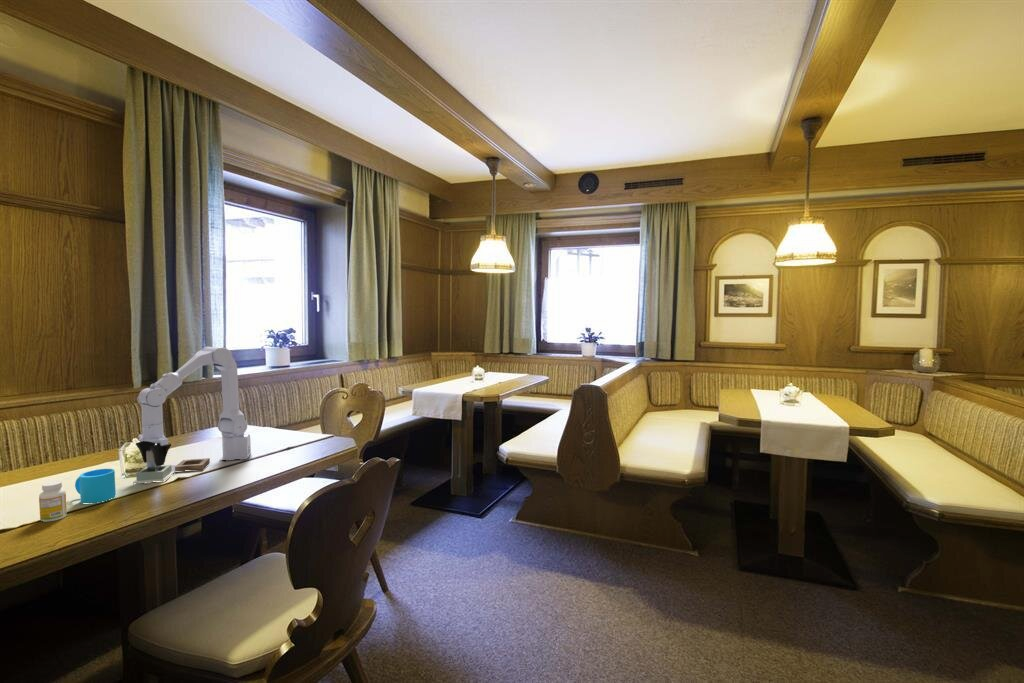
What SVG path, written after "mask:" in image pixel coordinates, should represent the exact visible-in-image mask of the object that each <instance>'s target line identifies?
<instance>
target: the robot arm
mask: <svg viewBox="0 0 1024 683" xmlns="http://www.w3.org/2000/svg"><path fill="white" fill-rule="evenodd" d="M210 365H211V366H214V367H215V368H216V369H218V370H219V371H220V376H221V377H220V378H221V396H222V412H220V414H219V421H218V423H217V429H218V431H219V432H220V433H221V440H222V442H221V443H222V444H221V445H222V456H221V457H220V459H219V460H220V461H219V462H223V461H222V460H226V461H235V460H234V459H240V460H247V459H249V457H250V456H251V454H252V450H251V444H252V442H251V434H247V433H246V431H247V429H248V422H247V420H246V419H245V418H246V417H245V415H244V413H243V412H242V411H241V410H240V397H239V396H240V395H239V379H238V378H239V377H238V364H237V362H236V361H235V358H234V357H233V352H232V351H231V350H230V349H228V348H227V347H224V346H223V347H221V346H220V347H218V346H217V347H216V346H205V347H203V348H201V350H198V351H197V352H196V353H195V354H194V356H193V357H191V358H190V359H189V360H188V361H186V362H185V363H184V364H183V365H182V366H181V367H180V368H178V369H177V370H176V371H175V372H167V373H164V374H162V375H161V376H162V377H161V378H160V379H159V380H157V381H156V382H154V383H151V384H150V385H149V387H146V388H143V389H142V390H141V391H139V394H138V396H137V397H136V401H137V402H138V403H139V404H140V407H141V411H140V412H141V425H142V426H141V429H142V430H141V432H142V433H141V434H138V441H139V442H136V443H135V446H136V447H137V448H138V450H139V452H140V455H141V457H142V461H143V463H146V464H147V458H146V451H147V450H150V449H151V450H152V451H153V454H154V458H155V463H156V466H160V465H161V466H164V465H165V462H166V457H167V455H168V452H169V450H170V448H171V446H172V443H169V439H168V438H166V436H165V435H164V422H163V421H164V417H163V404H164V403H165V402H166V400H167V397H168V396H170V394H172V393H173V392H174V391H175V390H176V389H178V388H179V387H181V386H182V385H183V379H185V378H187V377H188V376H190V375H191V374H192V373H194V372H195V371H197V370H198V369H199V368H201V367H204V366H210ZM245 433H246V434H245ZM249 455H250V456H249Z"/></svg>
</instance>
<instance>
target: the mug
mask: <svg viewBox="0 0 1024 683" xmlns="http://www.w3.org/2000/svg"><path fill="white" fill-rule="evenodd" d="M115 470H116V469H113V468H100V469H99V468H98V469H93V470H88V471H85V472H82V473H80V474H79V476H78V477H77V478H76V480H75V483H74V487H75V490H76V492H77V493H78V494H79V495H80V504H82V503H97V502H102V501H106V500H109V499H111V498H114V497H115V495H116V496H117V494H116V474H115V473H116V472H115ZM115 498H116V497H115ZM115 498H114V499H115ZM109 501H110V500H109ZM106 502H107V501H106ZM102 503H103V502H102ZM97 504H98V503H97Z"/></svg>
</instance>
